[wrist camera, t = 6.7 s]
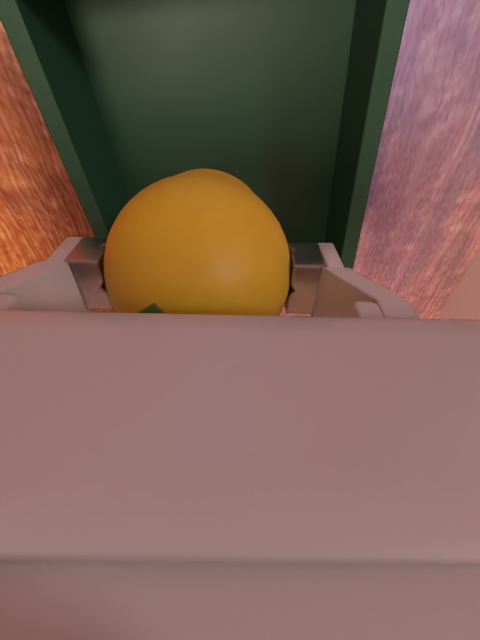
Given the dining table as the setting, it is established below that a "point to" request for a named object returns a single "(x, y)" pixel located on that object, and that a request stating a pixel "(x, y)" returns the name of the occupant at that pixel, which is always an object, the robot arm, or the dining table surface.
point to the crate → (216, 99)
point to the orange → (197, 250)
